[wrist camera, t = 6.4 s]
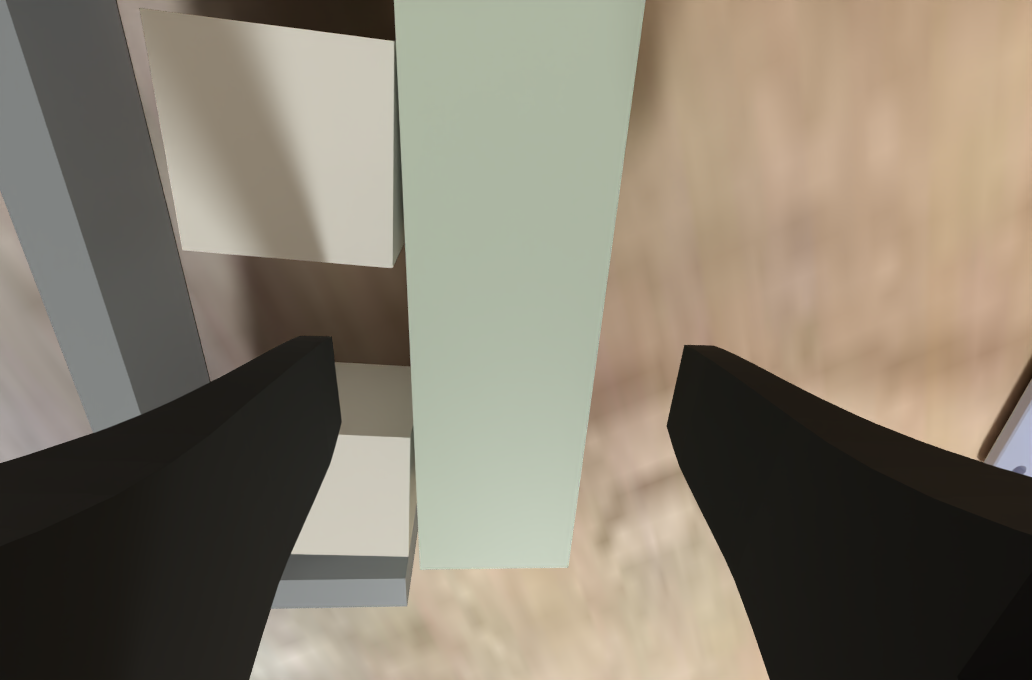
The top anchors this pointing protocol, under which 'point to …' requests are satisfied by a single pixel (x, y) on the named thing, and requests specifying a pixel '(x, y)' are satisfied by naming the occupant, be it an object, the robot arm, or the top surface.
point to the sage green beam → (507, 259)
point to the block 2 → (367, 469)
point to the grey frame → (120, 247)
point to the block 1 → (279, 139)
